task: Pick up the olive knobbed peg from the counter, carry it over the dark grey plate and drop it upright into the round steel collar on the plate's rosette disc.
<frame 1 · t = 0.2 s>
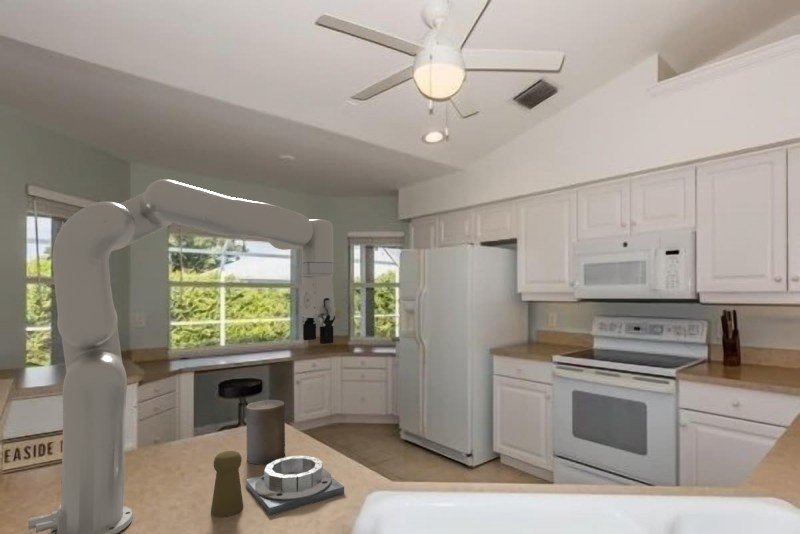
hand: (317, 341, 109), 31 cm above the countertop, tool pointing down, fingers open, 9 cm apart
pillar candle: (265, 458, 117), on the countertop
rosette plate: (294, 490, 98), on the countertop
olive knobbed peg: (227, 510, 89), on the countertop
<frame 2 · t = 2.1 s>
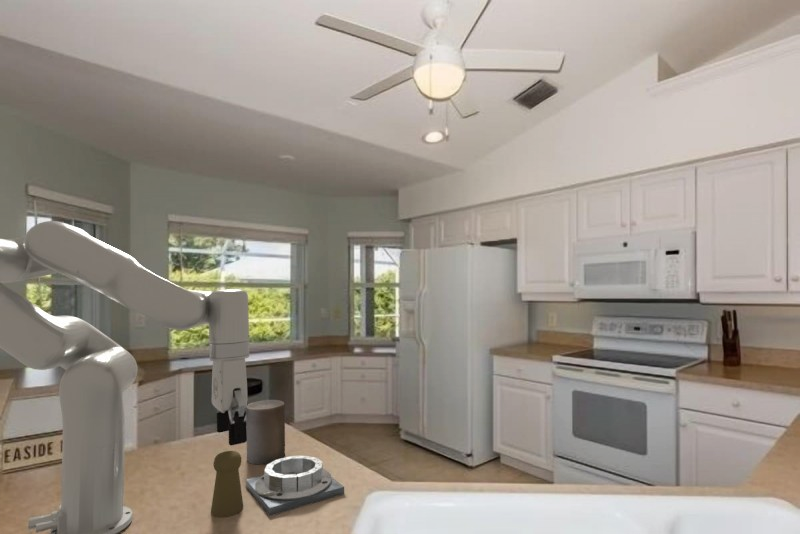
hand: (231, 437, 90), 14 cm above the countertop, tool pointing down, fingers open, 9 cm apart
nothing on the countertop moved.
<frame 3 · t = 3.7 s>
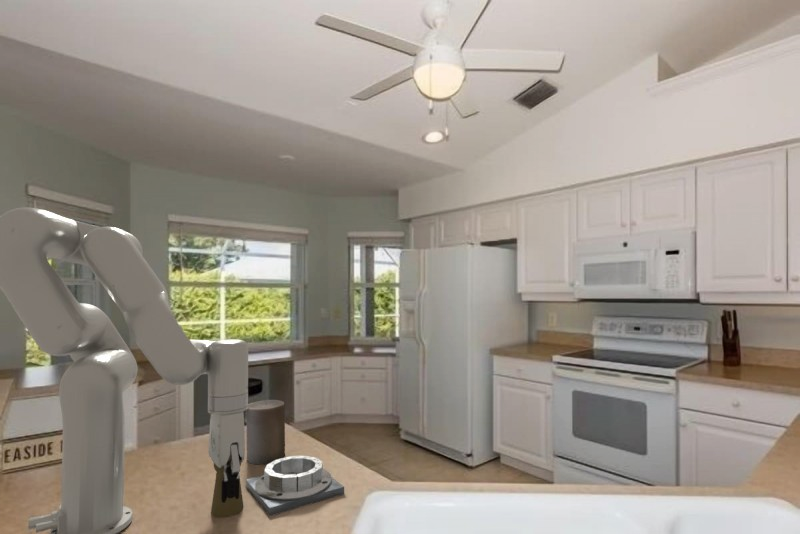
hand: (227, 494, 89), 3 cm above the countertop, tool pointing down, fingers closed on olive knobbed peg, 3 cm apart
olive knobbed peg: (227, 510, 89), on the countertop, touching gripper
everything else where it was.
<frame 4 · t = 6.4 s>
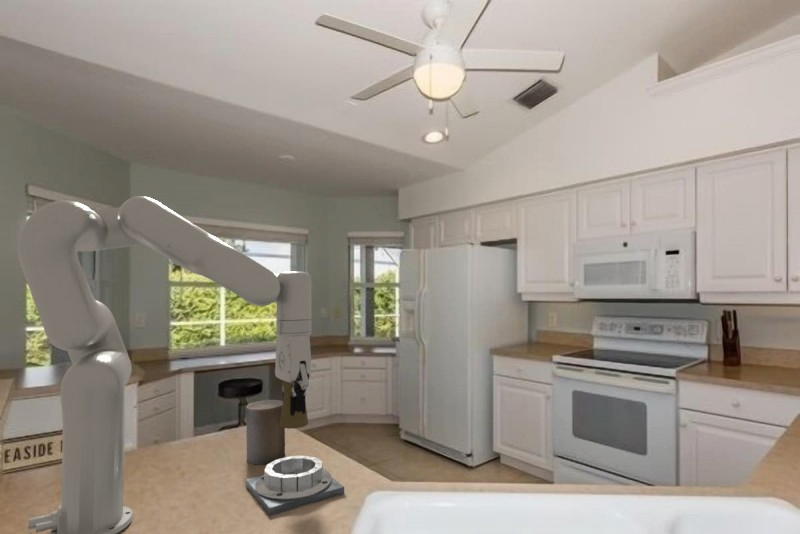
hand: (293, 411, 98), 17 cm above the countertop, tool pointing down, fingers closed on olive knobbed peg, 3 cm apart
olive knobbed peg: (294, 425, 98), point 14 cm above the countertop, touching gripper
everything else where it was.
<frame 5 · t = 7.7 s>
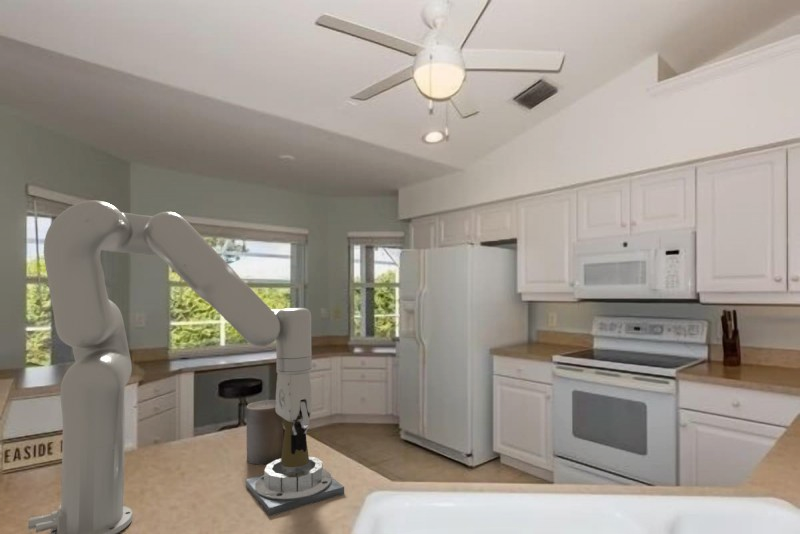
hand: (294, 448, 98), 9 cm above the countertop, tool pointing down, fingers closed on olive knobbed peg, 3 cm apart
olive knobbed peg: (295, 462, 98), point 6 cm above the countertop, touching gripper
everything else where it was.
when the fingers open (6 cm above the countertop, at t = 8.9 s): olive knobbed peg drops 1 cm, resting on rosette plate.
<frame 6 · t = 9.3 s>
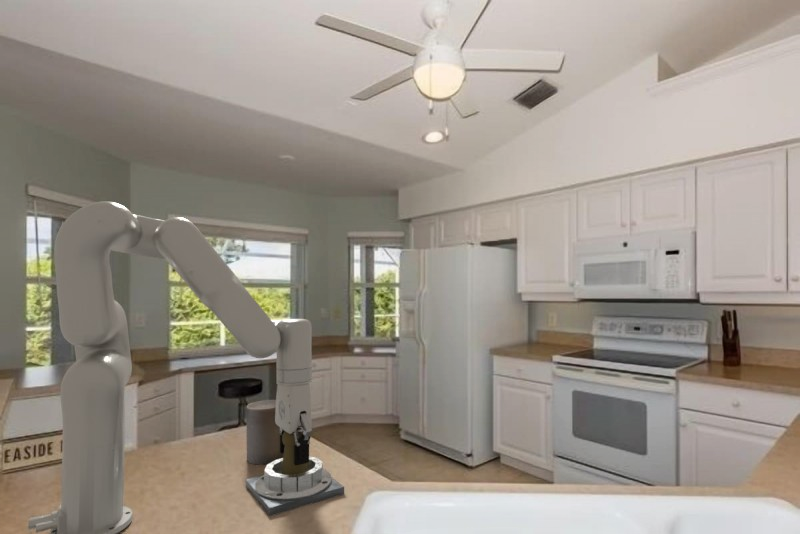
hand: (294, 457, 98), 7 cm above the countertop, tool pointing down, fingers open, 7 cm apart
olive knobbed peg: (294, 481, 97), point 2 cm above the countertop, touching rosette plate
everything else where it was.
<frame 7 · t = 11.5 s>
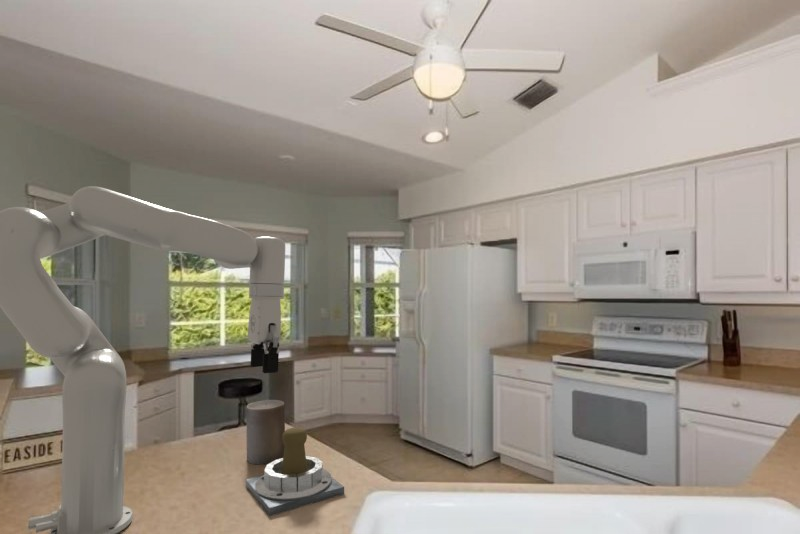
hand: (263, 369, 100), 26 cm above the countertop, tool pointing down, fingers open, 9 cm apart
nothing on the countertop moved.
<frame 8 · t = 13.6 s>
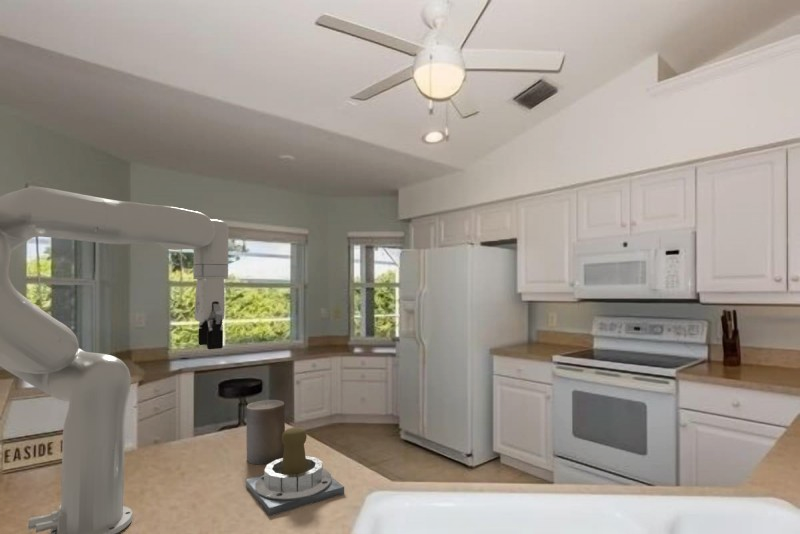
hand: (210, 346, 105), 30 cm above the countertop, tool pointing down, fingers open, 9 cm apart
nothing on the countertop moved.
at the end: olive knobbed peg 0.4 cm from the rosette plate (horizontally); olive knobbed peg point 1.9 cm above the countertop; olive knobbed peg tilted 0° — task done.
